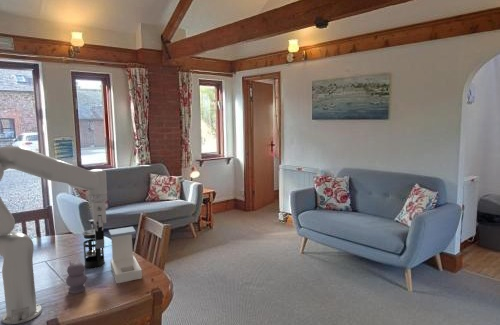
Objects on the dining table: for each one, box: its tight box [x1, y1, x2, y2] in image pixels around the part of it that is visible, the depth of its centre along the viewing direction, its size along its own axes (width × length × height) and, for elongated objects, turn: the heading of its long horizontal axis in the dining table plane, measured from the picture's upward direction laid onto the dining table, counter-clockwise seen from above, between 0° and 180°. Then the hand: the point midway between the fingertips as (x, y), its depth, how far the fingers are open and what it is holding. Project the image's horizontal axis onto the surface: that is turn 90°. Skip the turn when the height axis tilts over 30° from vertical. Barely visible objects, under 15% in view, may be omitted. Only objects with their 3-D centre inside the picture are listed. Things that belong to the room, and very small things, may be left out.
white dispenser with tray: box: [108, 226, 143, 284], centre depth 170 cm, size 19×11×19 cm, turn 27°
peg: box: [94, 223, 105, 249], centre depth 162 cm, size 3×3×12 cm
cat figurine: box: [65, 260, 88, 295], centre depth 154 cm, size 8×8×12 cm
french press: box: [82, 218, 106, 270], centre depth 178 cm, size 12×9×23 cm
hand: (99, 237), depth 162 cm, fingers closed on peg, 3 cm apart
